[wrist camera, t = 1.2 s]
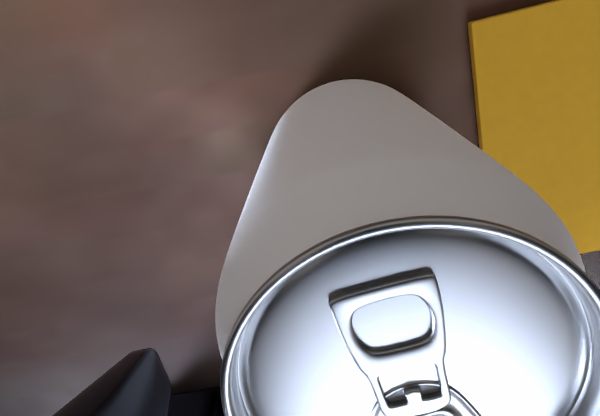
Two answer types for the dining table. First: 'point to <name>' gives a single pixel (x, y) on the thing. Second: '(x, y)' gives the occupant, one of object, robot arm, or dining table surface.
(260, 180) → the can
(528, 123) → the cloth
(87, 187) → the dining table surface
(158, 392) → the robot arm
